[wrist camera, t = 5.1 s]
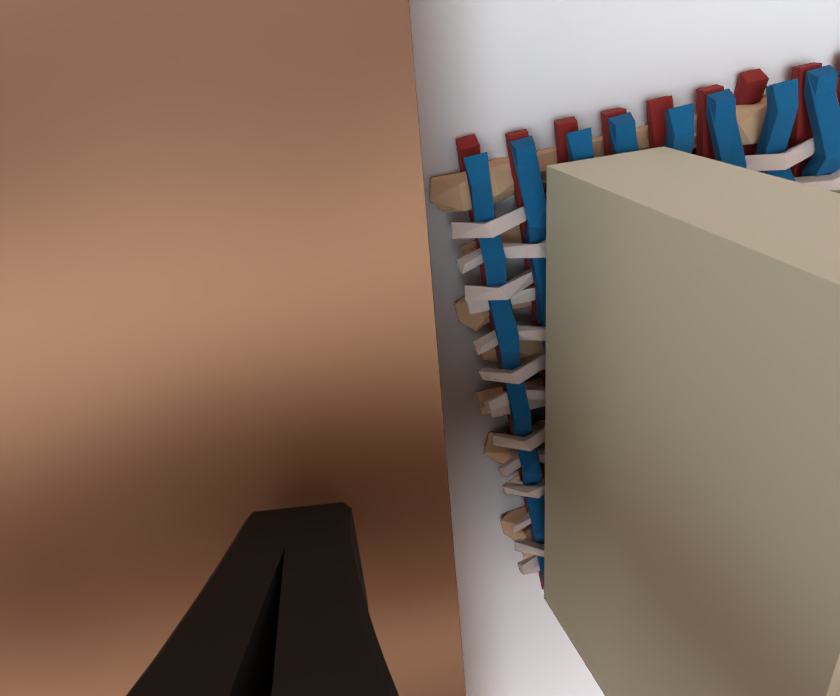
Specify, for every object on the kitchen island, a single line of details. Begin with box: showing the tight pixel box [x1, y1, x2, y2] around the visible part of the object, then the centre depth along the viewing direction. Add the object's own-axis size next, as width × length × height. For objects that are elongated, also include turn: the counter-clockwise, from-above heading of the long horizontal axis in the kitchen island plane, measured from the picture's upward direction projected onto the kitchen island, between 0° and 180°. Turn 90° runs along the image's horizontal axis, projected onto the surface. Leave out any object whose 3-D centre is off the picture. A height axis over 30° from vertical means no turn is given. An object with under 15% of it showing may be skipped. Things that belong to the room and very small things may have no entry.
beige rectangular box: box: [544, 147, 840, 696], centre depth 10 cm, size 9×6×2 cm
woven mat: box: [430, 63, 840, 589], centre depth 13 cm, size 10×11×2 cm
